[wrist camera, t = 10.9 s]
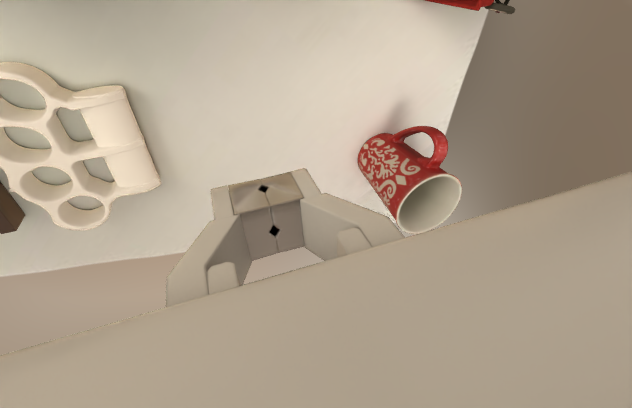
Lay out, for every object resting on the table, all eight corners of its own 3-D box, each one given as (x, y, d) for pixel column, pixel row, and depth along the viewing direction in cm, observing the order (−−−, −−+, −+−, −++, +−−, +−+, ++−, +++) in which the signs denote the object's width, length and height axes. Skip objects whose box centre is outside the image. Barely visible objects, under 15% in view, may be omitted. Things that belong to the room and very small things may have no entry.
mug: (393, 181, 55) (443, 233, 45) (344, 180, 52) (386, 235, 41) (423, 107, 49) (489, 148, 38) (370, 99, 45) (427, 141, 35)
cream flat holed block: (169, 196, 44) (43, 224, 40) (110, 48, 33) (-70, 70, 30) (169, 211, 41) (34, 242, 38) (105, 56, 30) (-93, 81, 27)
